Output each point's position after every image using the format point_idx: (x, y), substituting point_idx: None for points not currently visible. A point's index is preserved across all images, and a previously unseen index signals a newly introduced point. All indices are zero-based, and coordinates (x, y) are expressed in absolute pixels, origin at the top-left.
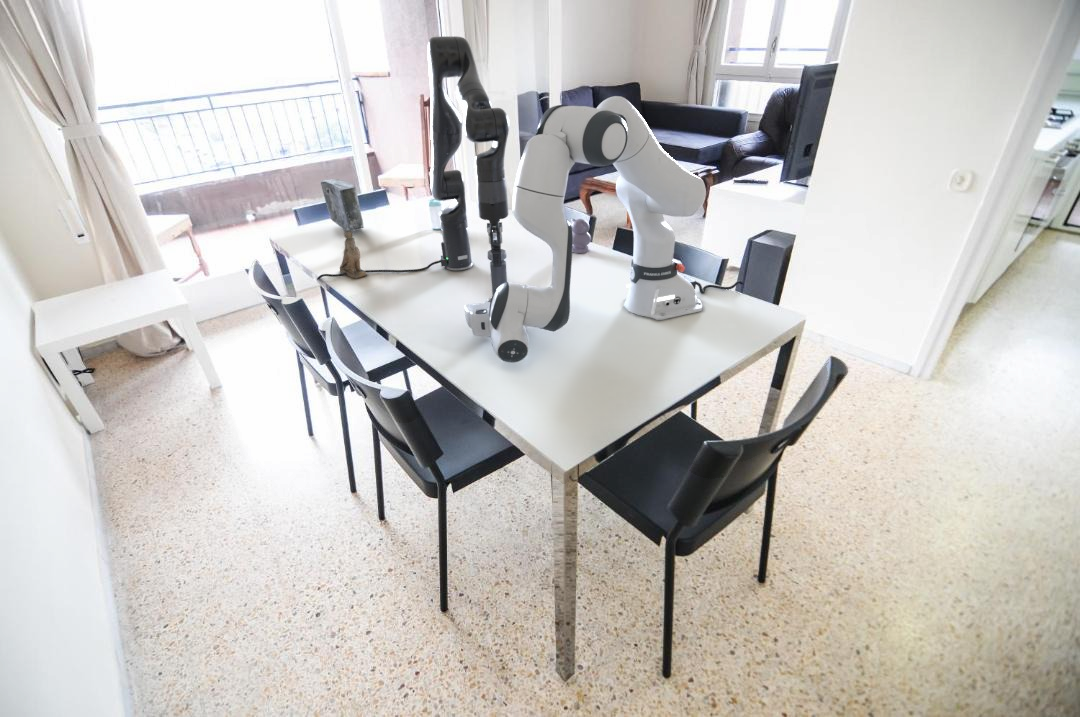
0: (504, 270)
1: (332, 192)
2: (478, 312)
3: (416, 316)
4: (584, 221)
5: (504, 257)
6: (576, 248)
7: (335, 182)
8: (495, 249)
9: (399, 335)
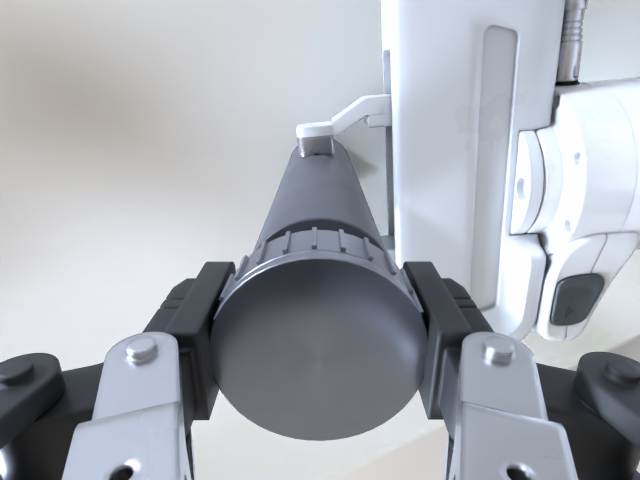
0: (362, 215)
1: None
2: (577, 312)
3: (236, 439)
4: None
5: (378, 254)
6: None
7: None
8: (635, 460)
9: (358, 465)
